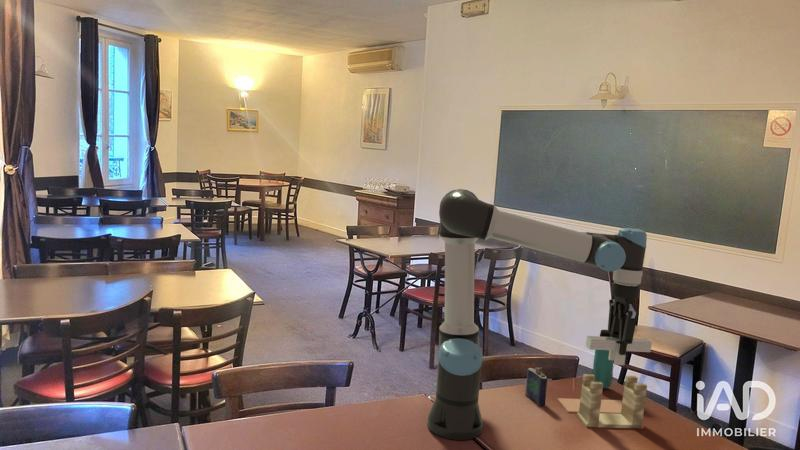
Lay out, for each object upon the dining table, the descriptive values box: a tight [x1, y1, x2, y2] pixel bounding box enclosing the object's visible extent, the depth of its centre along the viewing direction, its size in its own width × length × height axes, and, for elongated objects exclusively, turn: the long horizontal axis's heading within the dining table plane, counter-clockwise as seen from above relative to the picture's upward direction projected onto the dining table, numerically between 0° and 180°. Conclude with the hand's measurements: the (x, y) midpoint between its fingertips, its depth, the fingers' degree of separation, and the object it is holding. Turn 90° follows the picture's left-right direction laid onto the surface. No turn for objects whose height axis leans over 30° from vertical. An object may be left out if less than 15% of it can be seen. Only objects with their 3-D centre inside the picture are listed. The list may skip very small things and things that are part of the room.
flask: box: [524, 367, 548, 407], centre depth 180 cm, size 9×3×11 cm, turn 21°
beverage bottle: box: [591, 329, 615, 389], centre depth 193 cm, size 6×7×20 cm
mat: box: [557, 397, 623, 414], centre depth 179 cm, size 21×9×1 cm, turn 95°
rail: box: [585, 335, 653, 353], centre depth 166 cm, size 18×3×3 cm, turn 95°
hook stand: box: [576, 373, 648, 429], centre depth 168 cm, size 17×7×13 cm, turn 95°
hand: (616, 362), depth 167 cm, fingers closed on rail, 3 cm apart
